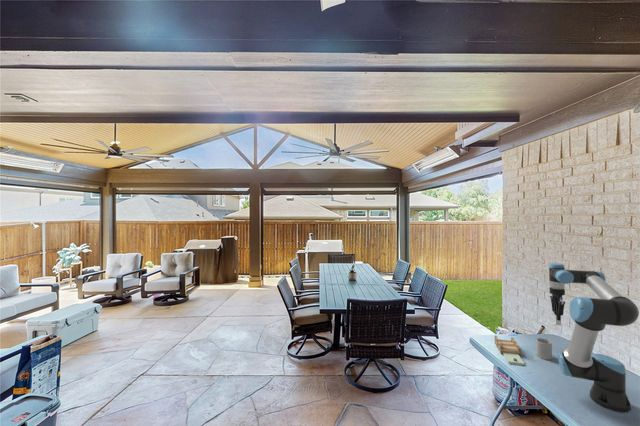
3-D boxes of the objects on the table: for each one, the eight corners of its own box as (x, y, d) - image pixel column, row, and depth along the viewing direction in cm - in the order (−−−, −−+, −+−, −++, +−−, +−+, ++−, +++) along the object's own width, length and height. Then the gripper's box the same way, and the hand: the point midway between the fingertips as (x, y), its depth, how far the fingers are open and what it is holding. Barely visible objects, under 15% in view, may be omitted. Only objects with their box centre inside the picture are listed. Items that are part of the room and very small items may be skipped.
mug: (554, 360, 186) (554, 344, 186) (539, 358, 189) (538, 342, 189) (546, 352, 198) (546, 336, 198) (532, 350, 201) (532, 335, 200)
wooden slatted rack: (520, 356, 193) (520, 348, 193) (500, 354, 197) (500, 345, 197) (513, 345, 208) (513, 337, 208) (494, 343, 212) (494, 335, 212)
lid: (524, 366, 182) (524, 362, 182) (508, 364, 185) (508, 359, 185) (518, 357, 193) (518, 352, 193) (503, 355, 196) (503, 350, 196)
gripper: (570, 290, 170) (570, 329, 170) (558, 285, 182) (559, 321, 182) (555, 290, 172) (556, 328, 172) (545, 284, 185) (545, 320, 184)
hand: (557, 324), depth 177 cm, fingers closed
